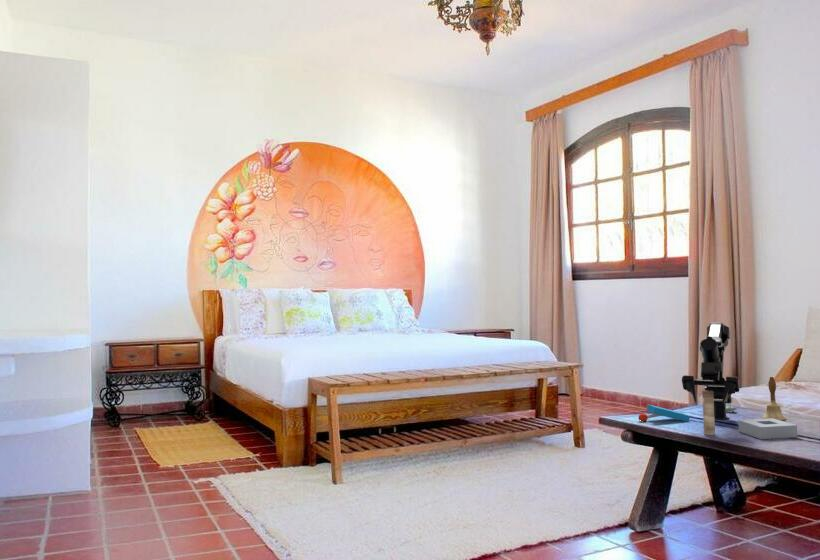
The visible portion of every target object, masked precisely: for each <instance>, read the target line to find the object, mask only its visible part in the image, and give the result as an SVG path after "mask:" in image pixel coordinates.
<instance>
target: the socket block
mask: <svg viewBox="0 0 820 560" xmlns="http://www.w3.org/2000/svg"><path fill="white" fill-rule="evenodd" d="M737 424H738V432H739V433H743V434H745V435H748V436H751V437H755V438H756V437H757V438H756V439H760V440H769V439H770V440H771V438H773V439H787V438H798V424H794V423H791V422H787V421H785V420H777V419H774V418H769V419H763V418H757V419H756V418H751V419H739V420H738V423H737Z"/></svg>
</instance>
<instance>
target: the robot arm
mask: <svg viewBox="0 0 820 560" xmlns="http://www.w3.org/2000/svg"><path fill="white" fill-rule="evenodd" d="M730 339H731V330H730V327H729V326H727V325H726V324H724V323H723V322H720V321H719V322H717V321H716V322H710V323H709V325H708V326H707V327H706V337H705V338H704V339H702V340H701V341H700V344H699V350H700V353H701V356H702V359H703V360H702V362H701V363H700V377H701V378H695V377H694V376H695V375H693V374H692V375H683V376H682V377H681V384H682V387H683V388H682V389H683V390H685V391H686V392H688V393H690V394H691V396H692V398H693V401H694V403H697V391H696V386H704V391H705V390H709V391H713V393H714V420H730V417H729V416H727V412H726V405H727V404H728V403H731V397H732V394H736V393H738V392H740V380H739V377H737V376H725V377H724V366H725V365H724V360H725V358H724V357H725V350H726V348H727V347H728V345H729V340H730ZM731 404H732V403H731Z"/></svg>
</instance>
